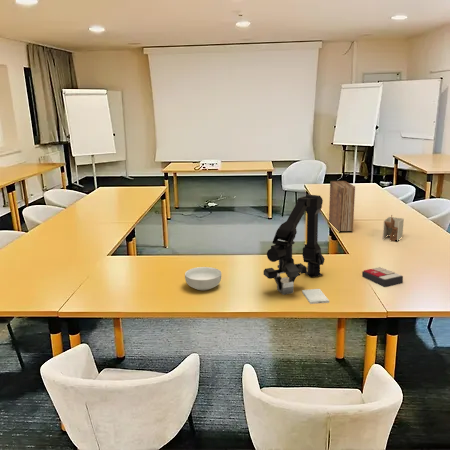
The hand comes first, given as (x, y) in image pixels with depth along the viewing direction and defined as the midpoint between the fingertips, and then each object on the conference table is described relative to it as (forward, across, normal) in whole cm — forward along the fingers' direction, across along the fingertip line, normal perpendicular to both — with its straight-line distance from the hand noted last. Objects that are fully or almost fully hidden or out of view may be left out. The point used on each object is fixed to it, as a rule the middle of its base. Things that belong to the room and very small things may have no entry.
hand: (285, 288), depth 198 cm
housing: (+1, 0, 0) cm, 1 cm away
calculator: (+2, +48, -5) cm, 48 cm away
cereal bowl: (+2, -32, +19) cm, 37 cm away
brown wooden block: (+2, +82, +81) cm, 115 cm away
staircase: (+2, +96, +46) cm, 107 cm away
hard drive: (+2, +9, -10) cm, 14 cm away
